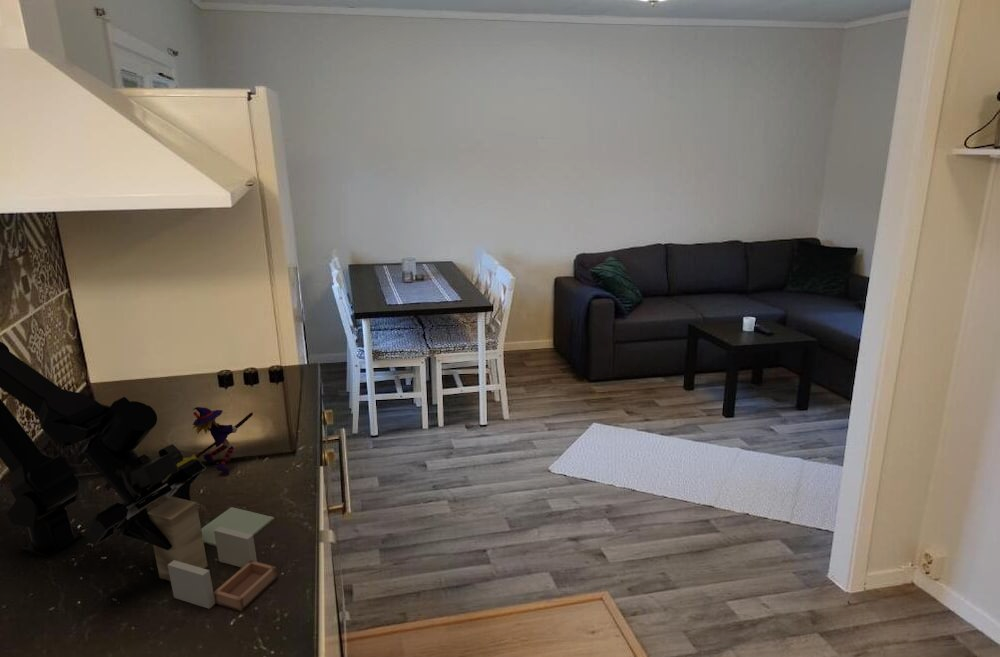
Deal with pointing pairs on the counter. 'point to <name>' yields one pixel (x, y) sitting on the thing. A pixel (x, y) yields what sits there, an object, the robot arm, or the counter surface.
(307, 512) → the counter surface
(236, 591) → the tray
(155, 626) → the counter surface
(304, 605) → the counter surface
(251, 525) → the green mat
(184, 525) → the beech post
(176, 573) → the channel
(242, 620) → the counter surface
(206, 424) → the toy
